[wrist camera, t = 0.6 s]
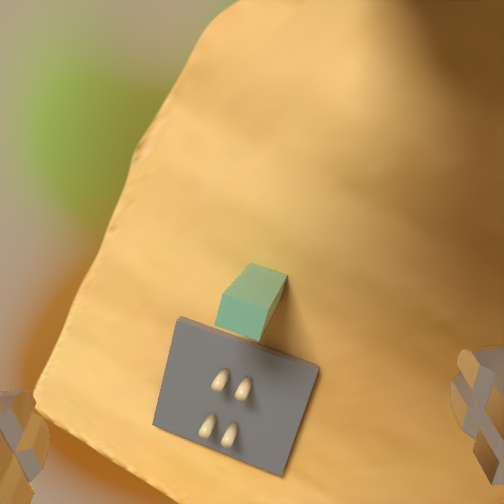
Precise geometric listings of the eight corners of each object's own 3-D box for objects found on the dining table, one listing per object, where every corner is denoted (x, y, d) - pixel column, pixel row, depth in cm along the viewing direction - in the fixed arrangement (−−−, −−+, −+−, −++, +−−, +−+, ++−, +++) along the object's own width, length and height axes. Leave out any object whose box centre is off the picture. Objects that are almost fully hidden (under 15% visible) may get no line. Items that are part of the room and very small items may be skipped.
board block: (250, 262, 46) (222, 293, 37) (287, 275, 46) (268, 309, 36) (243, 288, 47) (214, 325, 38) (279, 301, 47) (258, 341, 37)
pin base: (180, 316, 50) (165, 331, 46) (319, 365, 47) (315, 386, 43) (156, 418, 54) (140, 440, 50) (283, 469, 51) (276, 496, 47)
